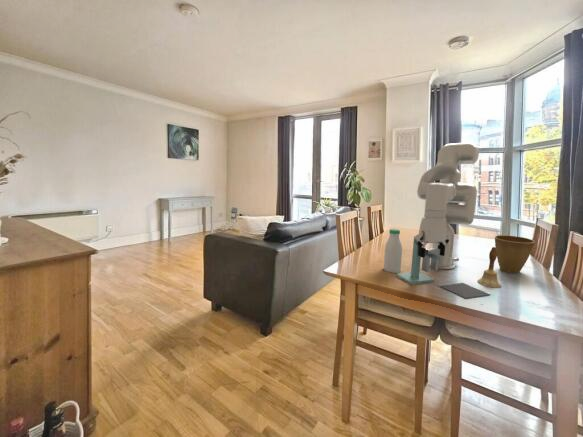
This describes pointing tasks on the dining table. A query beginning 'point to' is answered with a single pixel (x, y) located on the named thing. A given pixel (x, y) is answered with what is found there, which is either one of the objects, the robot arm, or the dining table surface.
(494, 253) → the hand bell
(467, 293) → the mat
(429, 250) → the link
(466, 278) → the dining table surface
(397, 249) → the milk bottle
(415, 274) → the stand
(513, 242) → the plant pot
